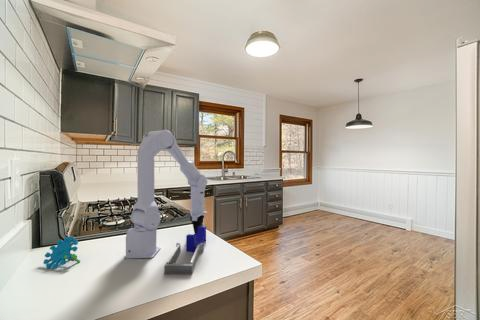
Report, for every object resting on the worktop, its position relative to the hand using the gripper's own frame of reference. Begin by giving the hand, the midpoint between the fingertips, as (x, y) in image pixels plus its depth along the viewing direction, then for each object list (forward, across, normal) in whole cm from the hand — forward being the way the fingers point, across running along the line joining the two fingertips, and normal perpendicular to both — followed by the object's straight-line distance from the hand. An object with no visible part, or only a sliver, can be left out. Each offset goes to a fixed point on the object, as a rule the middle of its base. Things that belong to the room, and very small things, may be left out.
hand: (197, 232), depth 98 cm
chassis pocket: (+1, -24, 0) cm, 25 cm away
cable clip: (+1, -11, -1) cm, 11 cm away
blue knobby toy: (+1, -26, +38) cm, 46 cm away
